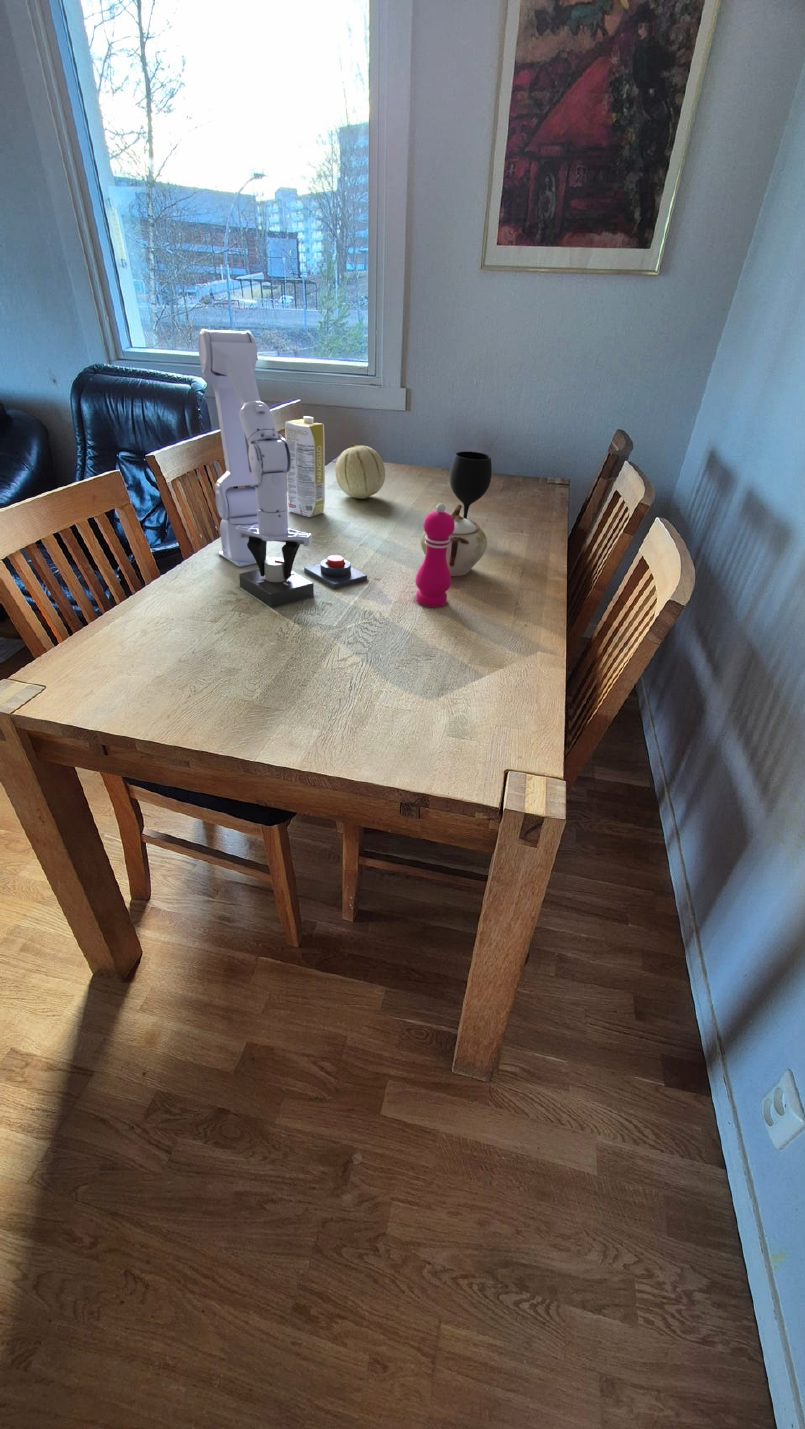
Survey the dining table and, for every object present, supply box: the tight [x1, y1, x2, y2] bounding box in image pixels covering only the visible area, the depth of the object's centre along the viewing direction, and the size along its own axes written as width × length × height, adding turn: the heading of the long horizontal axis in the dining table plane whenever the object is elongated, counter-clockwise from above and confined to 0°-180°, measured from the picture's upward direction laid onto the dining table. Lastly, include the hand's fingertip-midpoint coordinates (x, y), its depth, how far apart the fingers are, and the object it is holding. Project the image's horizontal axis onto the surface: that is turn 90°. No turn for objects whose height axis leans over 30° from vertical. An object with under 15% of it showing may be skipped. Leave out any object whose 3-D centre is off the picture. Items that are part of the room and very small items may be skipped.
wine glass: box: [449, 450, 493, 519], centre depth 157 cm, size 10×10×20 cm
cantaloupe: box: [334, 442, 386, 500], centre depth 180 cm, size 15×15×15 cm
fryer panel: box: [238, 568, 315, 609], centre depth 125 cm, size 12×10×3 cm
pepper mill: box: [415, 503, 455, 608], centre depth 122 cm, size 7×7×20 cm
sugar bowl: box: [420, 503, 488, 577], centre depth 139 cm, size 20×15×15 cm
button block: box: [303, 558, 368, 590], centre depth 134 cm, size 11×9×3 cm
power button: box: [326, 554, 345, 567], centre depth 133 cm, size 4×4×2 cm
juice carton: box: [284, 415, 326, 518], centre depth 163 cm, size 9×8×24 cm
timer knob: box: [264, 556, 286, 582], centre depth 123 cm, size 4×4×4 cm
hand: (275, 575), depth 124 cm, fingers closed on timer knob, 4 cm apart
